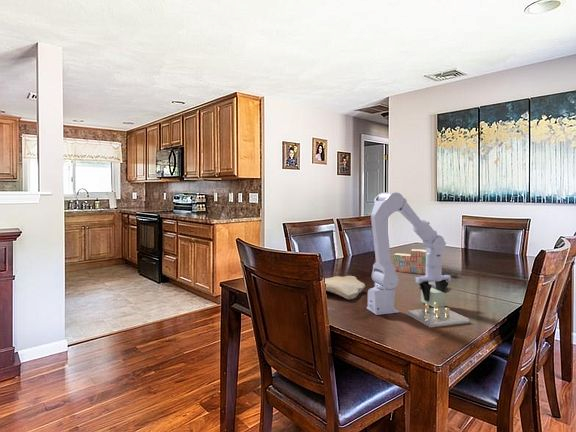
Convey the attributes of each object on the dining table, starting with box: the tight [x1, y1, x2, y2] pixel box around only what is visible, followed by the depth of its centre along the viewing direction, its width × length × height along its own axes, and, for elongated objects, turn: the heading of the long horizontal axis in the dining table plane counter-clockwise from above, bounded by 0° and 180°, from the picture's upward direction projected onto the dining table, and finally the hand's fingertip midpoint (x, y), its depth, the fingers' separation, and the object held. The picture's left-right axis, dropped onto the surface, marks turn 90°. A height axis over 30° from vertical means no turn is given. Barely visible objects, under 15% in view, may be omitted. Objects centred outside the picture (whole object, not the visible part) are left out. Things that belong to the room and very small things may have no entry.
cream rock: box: [324, 275, 366, 300], centre depth 165 cm, size 24×8×20 cm
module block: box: [420, 288, 446, 308], centre depth 145 cm, size 5×8×5 cm, turn 15°
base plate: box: [406, 303, 470, 328], centre depth 130 cm, size 15×13×4 cm
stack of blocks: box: [393, 248, 426, 275], centre depth 203 cm, size 21×6×12 cm, turn 61°
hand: (432, 300), depth 145 cm, fingers closed on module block, 5 cm apart
